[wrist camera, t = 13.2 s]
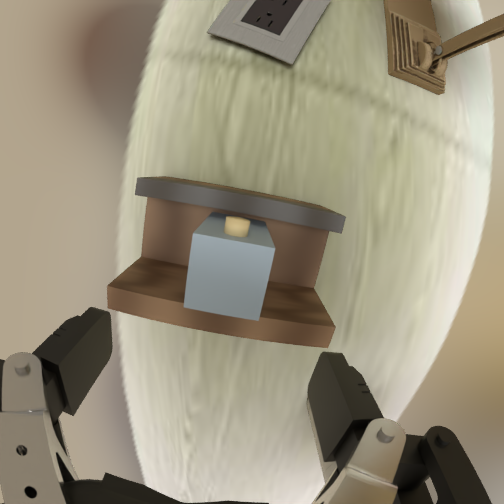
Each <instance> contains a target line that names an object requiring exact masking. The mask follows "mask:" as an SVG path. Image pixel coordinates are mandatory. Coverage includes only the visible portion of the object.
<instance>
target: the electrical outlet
mask: <svg viewBox="0 0 504 504" xmlns="http://www.w3.org/2000/svg"><path fill="white" fill-rule="evenodd" d="M330 1H331V0H230V1H229V2H228V3H227V5H226V6H225V7H224V9H223V10H222V11H221V13H220V14H219V15H218V17H217V18H216V19H215V21H214V22H213V24H212V25H211V27H210V28H209V29H208V31H207V33H208V34H212V35H215V36H218V37H221V38H225V39H228V40H230V41H233V42H236V43H239V44H242V45H245V46H247V47H250V48H253V49H255V50H258V51H260V52H263V53H265V54H268V55H270V56H272V57H275V58H277V59H279V60H281V61H284V62H286V63H288V64H290V65H292V64H293V63H294V61H295V59H296V57H297V56H298V54H299V52H300V50H301V49H302V47H303V45H304V43H305V42H306V40H307V38H308V37H309V35H310V33H311V32H312V30H313V28H314V27H315V25H316V23H317V22H318V20H319V18H320V17H321V15H322V13H323V12H324V10H325V9H326V7H327V5H328V4H329V2H330Z"/></svg>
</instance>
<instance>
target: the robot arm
mask: <svg viewBox="0 0 504 504" xmlns="http://www.w3.org/2000/svg"><path fill="white" fill-rule="evenodd" d="M111 353H112V332H111V315H110V313H109V312H108V311H104V310H101V309H98V308H94V307H90V308H89V309H88V310H87V311H85V313H83V314H82V315H81V316H75V317H73V318H70V319H68V320H66V321H65V322H64V323H63V324H62V325H61V326H60V327H59V329H57V330H56V331H54V332H53V334H52V335H50V336H49V337H48V338H47V339H46V340H45V341H44V342H43V343H42V344H41V345H40V346H39V347H38V348H37V349H36V350H35V351H34V352H33V353H32V354H31V353H25V352H20V353H15V354H13V355H11V356H10V357H8V358H7V359H6V361H5V360H1V359H0V484H1V490H2V494H3V499H4V503H2V504H269V503H255V502H238V501H219V502H204V503H183V502H180V501H177V500H175V499H173V498H170V497H168V496H166V495H164V494H161V493H159V492H157V491H155V490H153V489H151V488H149V487H147V486H145V485H143V484H139V483H136V482H132V481H129V480H126V479H123V478H119V477H117V476H114V475H111V474H109V473H105V475H104V478H103V480H91V479H86V480H79V478H78V476H77V474H76V471H75V469H74V467H73V465H72V462H71V459H70V456H69V452H68V449H67V446H66V442H65V438H64V434H63V430H62V426H61V421H60V418H59V416H60V415H61V413H62V411H63V412H66V413H68V414H70V415H72V416H74V414H75V413H76V411H77V409H78V408H79V406H80V404H81V403H82V401H83V400H84V398H85V396H86V395H87V393H88V392H89V390H90V388H91V387H92V385H93V384H94V382H95V381H96V379H97V377H98V376H99V374H100V373H101V371H102V370H103V368H104V367H105V365H106V364H107V362H108V361H109V359H110V356H111ZM307 408H308V413H309V416H310V420H311V425H312V429H313V433H314V438H315V442H316V446H317V450H318V455H319V459H320V463H321V467H322V472H323V476H324V480H325V485H324V487H323V488H322V489H321V491H320V492H319V494H318V495H317V497H316V498H315V499H314V501H313V502H312V504H433V502H432V499H431V496H430V493H429V491H428V488H427V486H426V483H425V481H426V480H427V479H428V478H429V477H431V480H432V482H433V485H434V487H435V489H436V492H437V495H438V500H437V503H436V504H492V503H491V501H490V499H489V497H488V495H487V493H486V490H485V488H484V487H483V484H482V483H481V480H480V479H479V477H478V475H477V473H476V471H475V469H474V467H473V465H472V464H471V462H470V460H469V458H468V456H467V455H466V453H465V451H464V449H463V447H462V446H461V444H460V442H459V440H458V439H457V437H456V435H455V434H454V433H453V432H452V431H451V430H449V429H448V428H446V427H442V426H434V427H431V428H430V429H429V430H428V431H427V433H426V434H425V435H424V436H417V435H408V434H405V431H404V429H403V428H402V427H401V426H400V425H399V424H398V423H396V422H395V421H392V420H390V419H385V418H384V417H383V415H382V413H381V411H380V409H379V407H378V405H377V403H376V401H375V399H374V398H373V396H372V394H371V393H370V390H369V388H368V386H366V382H365V380H364V378H363V376H362V375H361V374H360V373H359V372H358V371H357V370H356V369H355V368H354V367H353V366H349V365H348V363H347V361H346V359H345V357H344V355H343V354H342V353H333V352H322V353H321V355H320V357H319V359H318V362H317V364H316V367H315V369H314V372H313V374H312V377H311V379H310V382H309V385H308V400H307Z"/></svg>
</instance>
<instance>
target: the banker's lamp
mask: <svg viewBox="0 0 504 504" xmlns="http://www.w3.org/2000/svg"><path fill="white" fill-rule="evenodd" d="M384 8H385V18H386V30H387V46H388V74H389V75H392V76H394V77H397V78H400V79H402V80H405V81H408V82H410V83H413V84H415V85H417V86H420V87H422V88H424V89H427V90H429V91H431V92H433V93H436V94H438V95H439V94H443V93H445V92H444V90H445V84H446V80H445V71H446V69H447V63H448V62H447V59H449V58H452V57H454V56H456V55H458V54H461V53H463V52H465V51H467V50H470V49H472V48H475V47H477V46H479V45H482V44H484V43H487V42H489V41H492V40H495V39H497V38H500V37H503V36H504V14H502V15H500V16H498V17H495V18H493V19H491V20H489V21H486V22H484V23H482V24H480V25H478V26H476V27H474V28H472V29H470V30H468V31H466V32H464V33H462V34H460V35H458V36H456V37H454V38H452V39H450V40H448V41H446V42H444V43H441V36H439V34H438V33H437V30H436V24H435V19H434V14H433V9H432V5H431V0H384Z"/></svg>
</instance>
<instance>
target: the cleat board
mask: <svg viewBox="0 0 504 504" xmlns="http://www.w3.org/2000/svg"><path fill="white" fill-rule="evenodd" d="M135 195H138V196H145V197H148V198H147V206H146V214H145V223H144V232H143V242H142V254H141V257H140V258H139V259H138V260H137V261H135V262H134V263H133V264H132V265H131V266H130V267H128V268H127V269H126V270H125V271H124V272H123V273H121V274H120V275H119V276H118V277H117V278H116V279H114V280H113V281H112V282H111V283H110V284H109V285H108V286H107V299H108V308H109V309H112V310H116V311H120V312H123V313H127V314H131V315H135V316H139V317H143V318H147V319H151V320H156V321H160V322H164V323H169V324H173V325H178V326H183V327H188V328H193V329H198V330H203V331H208V332H214V333H219V334H225V335H231V336H237V337H243V338H249V339H256V340H263V341H270V342H278V343H285V344H294V345H303V346H312V347H322V348H328V346H329V344H330V341H331V339H332V336H333V333H334V330H335V328H336V327H335V325H334V323H333V322H332V320H331V318H330V316H329V314H328V313H327V311H326V309H325V307H324V305H323V304H322V302H321V300H320V298H319V296H318V295H317V293H316V291H315V289H314V286H315V282H316V279H317V275H318V272H319V268H320V264H321V261H322V257H323V253H324V249H325V245H326V242H327V238H328V234H329V231H332V232H337V233H341V234H342V230H343V226H344V222H345V218H346V217H345V216H343V215H341V214H339V213H336V212H334V211H332V210H330V209H327V208H325V207H323V206H320V205H316V204H311V203H307V202H302V201H298V200H293V199H289V198H284V197H279V196H274V195H270V194H265V193H260V192H255V191H249V190H244V189H239V188H233V187H228V186H222V185H216V184H211V183H205V182H198V181H192V180H186V179H179V178H172V177H165V176H163V177H141V178H137V184H136V191H135ZM212 212H217V213H223V214H228V215H234V216H239V217H244V218H250V219H255V220H260V221H265V223H266V225H267V228H268V231H269V233H270V236H271V238H272V241H273V243H274V246H275V253H274V257H273V262H272V266H271V270H270V275H269V279H268V283H267V288H266V292H265V296H264V300H263V305H262V309H261V313H260V317H259V321H256V320H250V319H244V318H238V317H232V316H226V315H221V314H215V313H210V312H205V311H200V310H195V309H190V308H185V307H184V298H185V290H186V281H187V273H188V265H189V258H190V251H191V244H192V237H193V233H194V231H195V230H196V229H197V228H198V227H199V226H200V225H201V224H202V223H203V222H204V220H205V219H206V218H207V217H208V216H209V215H210V214H211V213H212Z"/></svg>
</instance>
